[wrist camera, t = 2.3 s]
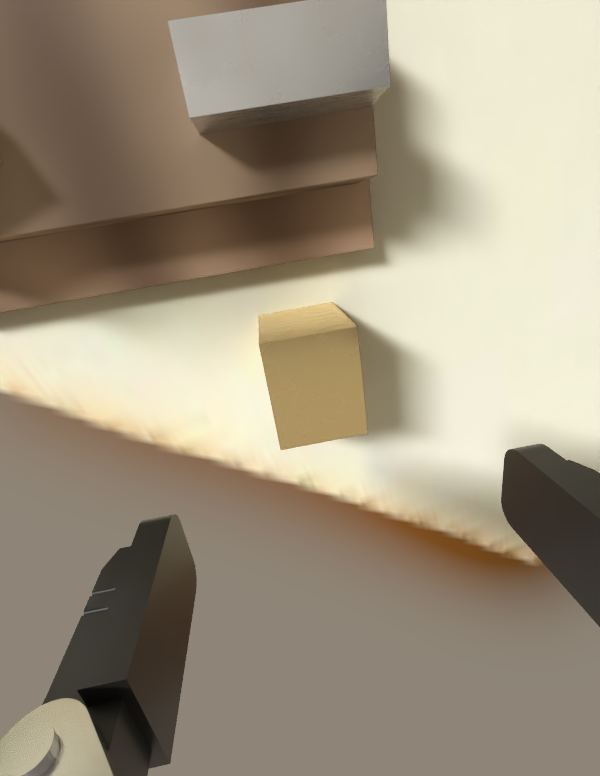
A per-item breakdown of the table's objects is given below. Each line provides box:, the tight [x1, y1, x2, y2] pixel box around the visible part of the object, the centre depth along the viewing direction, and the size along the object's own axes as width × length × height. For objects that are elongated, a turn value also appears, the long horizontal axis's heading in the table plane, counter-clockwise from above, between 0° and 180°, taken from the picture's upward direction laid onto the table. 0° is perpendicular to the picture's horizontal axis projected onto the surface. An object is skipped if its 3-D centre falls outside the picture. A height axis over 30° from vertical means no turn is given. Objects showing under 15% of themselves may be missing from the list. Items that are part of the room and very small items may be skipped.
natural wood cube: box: [258, 302, 368, 450], centre depth 19 cm, size 5×4×6 cm
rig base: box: [0, 0, 378, 312], centre depth 15 cm, size 20×12×4 cm, turn 99°
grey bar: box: [0, 0, 390, 166], centre depth 12 cm, size 19×4×2 cm, turn 99°
